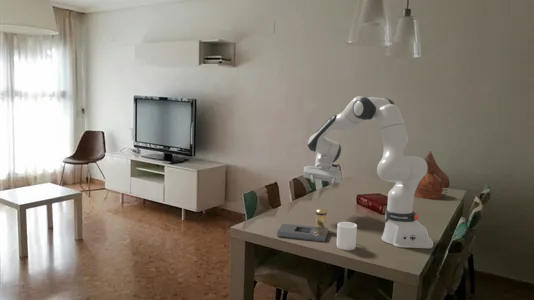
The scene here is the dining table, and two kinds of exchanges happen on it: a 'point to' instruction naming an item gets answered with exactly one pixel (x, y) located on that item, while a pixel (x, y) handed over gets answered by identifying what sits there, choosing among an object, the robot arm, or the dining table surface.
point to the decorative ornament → (432, 181)
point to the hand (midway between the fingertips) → (322, 182)
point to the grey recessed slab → (302, 232)
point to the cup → (346, 235)
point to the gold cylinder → (321, 218)
